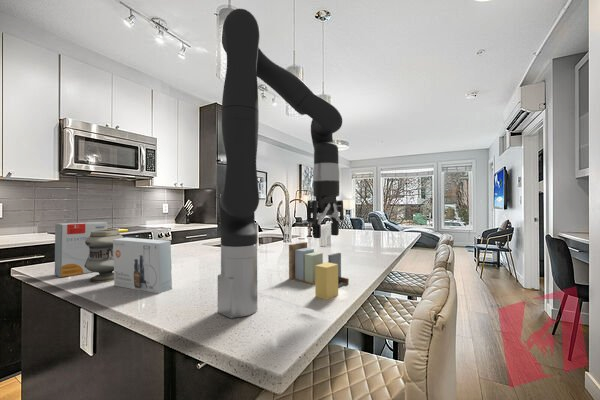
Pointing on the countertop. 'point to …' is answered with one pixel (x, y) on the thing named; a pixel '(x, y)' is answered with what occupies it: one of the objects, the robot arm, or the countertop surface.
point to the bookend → (337, 260)
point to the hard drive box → (73, 247)
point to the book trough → (292, 263)
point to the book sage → (312, 265)
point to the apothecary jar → (101, 254)
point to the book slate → (301, 262)
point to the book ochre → (326, 280)
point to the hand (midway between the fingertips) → (326, 236)
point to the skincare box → (142, 264)
